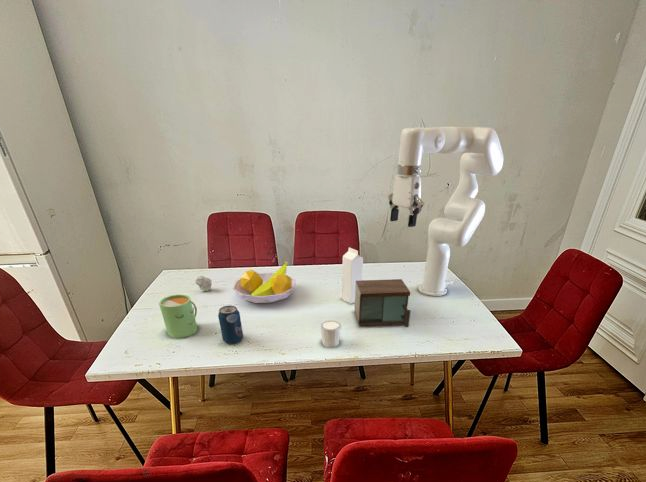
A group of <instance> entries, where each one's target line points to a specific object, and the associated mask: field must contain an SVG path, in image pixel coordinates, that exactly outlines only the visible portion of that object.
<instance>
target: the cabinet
mask: <svg viewBox="0 0 646 482" xmlns="http://www.w3.org/2000/svg"><path fill="white" fill-rule="evenodd" d="M394 296H408V298H409V297H410V296H411V290H410V289H409V288H408V286H407V285H406V283H405V282H404V281H403V279H402V278H397V279H395V278H394V279H364V280H363V279H362V280H361V281H356V286H355V303H354V315H355V318H356V321H357V324H358V327H359V328H367V327H388V326H389V327H391V326H392V327H393V326H405V323H404V321H397V322H382V317H383V306H384V297H394ZM408 305H409V302H408V303H407V306H408Z"/></svg>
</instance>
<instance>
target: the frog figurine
mask: <svg viewBox="0 0 646 482" xmlns="http://www.w3.org/2000/svg"><path fill="white" fill-rule="evenodd" d="M194 282H195V284H196V285H197V286H198V288H199V289H200V290H201V291H203V292H208V291H210V290H211V288H212V279H210V278H209V277H205V276H203V275H198V276H197V277H196V278H195V279H194Z"/></svg>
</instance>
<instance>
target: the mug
mask: <svg viewBox="0 0 646 482" xmlns="http://www.w3.org/2000/svg"><path fill="white" fill-rule="evenodd" d="M158 305H159V308H160V312H161V315H162V319H163V323H164V325H165V330H166V332H167V335H168V336H169V337H171V338H172V339H173V338H174V339H175V338H176V339H181V338H187V337H190V336H192V335H194V334H195V333H197V331H198V325H197V321H196V317H197V313H198V309H197V305H196V304H195V303H194V302H193V301H192V299H191V297H190V296H189V295H187V294H172V295H168V296H165V297H163V298H161V299H160V300H159V302H158Z"/></svg>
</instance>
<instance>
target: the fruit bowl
mask: <svg viewBox="0 0 646 482" xmlns="http://www.w3.org/2000/svg"><path fill="white" fill-rule="evenodd" d="M288 264H289V262H288V261H285V262H284V264H283V265H282V266H281V267H280V268H278V269H277V270H276V271H275V272H262V273H258V272H256V271H255V270H252V269H250V270H246V271H244V273H243V274H242V275H241V277H240V278H239V279H237V280H235V282H234V285H233V287H232V290H233V291H234V292H235V293H236V295H237V296H238V298H240V299H242V300H245V301H248V302H251V303H255V304H272V303H275V302H278V301H281V300H284V299H288V298H289V296H290V295H292V293H293V292H294V291H295V290H296V281H297V280H296V278H293V277H291V276H289V275H287V269H288V268H287V267H288Z"/></svg>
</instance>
